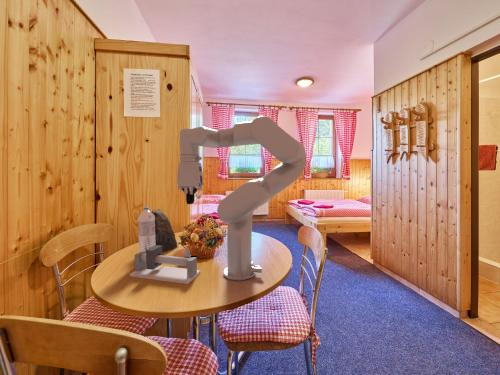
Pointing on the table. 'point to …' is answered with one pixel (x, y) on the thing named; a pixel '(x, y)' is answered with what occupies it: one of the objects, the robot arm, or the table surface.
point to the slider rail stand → (166, 269)
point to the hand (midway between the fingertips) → (190, 203)
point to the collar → (153, 257)
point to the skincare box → (187, 251)
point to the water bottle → (146, 230)
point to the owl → (164, 231)
